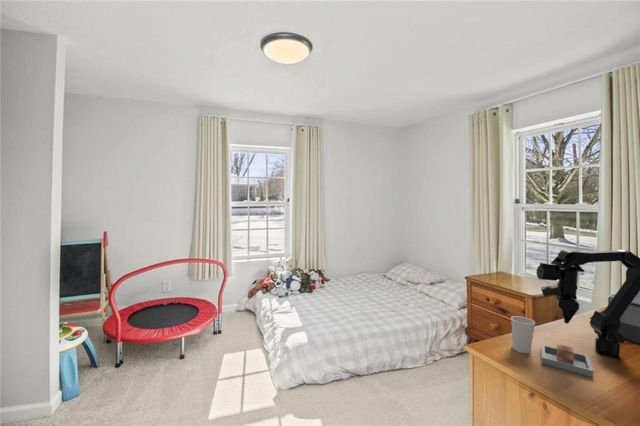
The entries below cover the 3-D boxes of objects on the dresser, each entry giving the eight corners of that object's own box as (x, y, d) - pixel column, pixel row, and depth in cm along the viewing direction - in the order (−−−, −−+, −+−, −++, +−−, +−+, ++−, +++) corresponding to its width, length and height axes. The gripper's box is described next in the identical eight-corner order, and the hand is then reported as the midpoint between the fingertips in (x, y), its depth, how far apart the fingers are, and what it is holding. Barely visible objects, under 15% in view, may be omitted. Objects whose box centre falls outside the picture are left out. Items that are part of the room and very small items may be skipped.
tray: (587, 361, 113) (587, 355, 113) (592, 378, 103) (593, 370, 103) (541, 350, 121) (541, 344, 121) (541, 364, 111) (542, 357, 111)
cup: (537, 355, 117) (539, 325, 117) (514, 352, 119) (516, 322, 118) (527, 345, 125) (529, 317, 125) (506, 343, 127) (507, 315, 126)
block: (571, 360, 113) (572, 347, 113) (573, 366, 109) (574, 352, 109) (556, 356, 115) (557, 344, 115) (557, 361, 112) (558, 348, 111)
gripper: (542, 273, 135) (540, 308, 135) (543, 282, 119) (541, 321, 120) (575, 278, 128) (572, 314, 129) (580, 288, 113) (577, 329, 114)
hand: (565, 319), depth 123 cm, fingers open, 9 cm apart
